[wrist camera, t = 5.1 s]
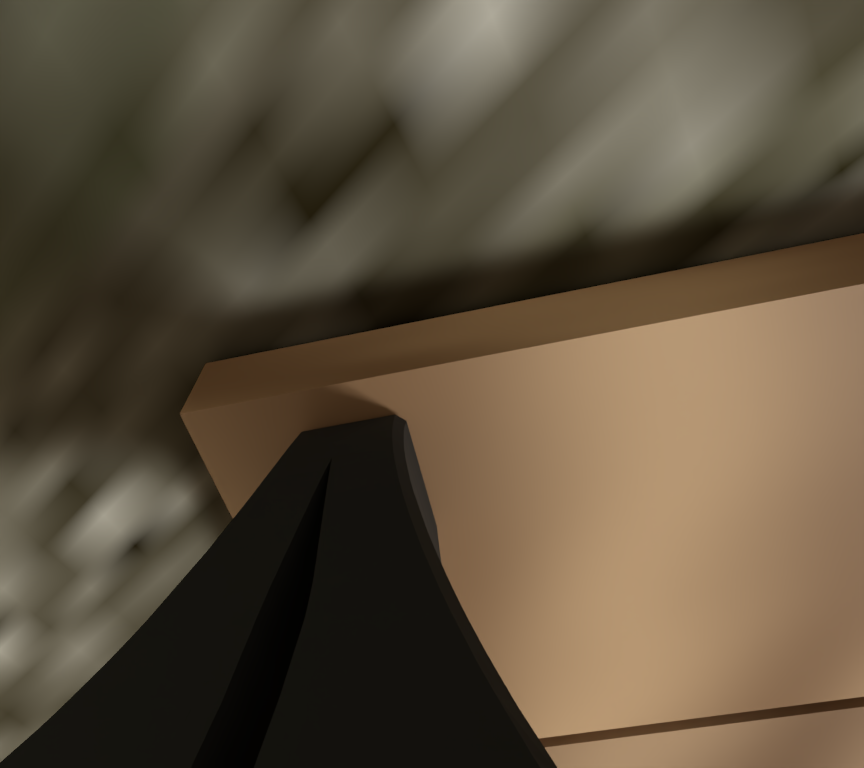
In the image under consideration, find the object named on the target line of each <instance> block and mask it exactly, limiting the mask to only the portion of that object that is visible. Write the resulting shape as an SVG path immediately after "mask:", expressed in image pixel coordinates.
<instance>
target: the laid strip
mask: <svg viewBox="0 0 864 768" xmlns="http://www.w3.org/2000/svg"><path fill="white" fill-rule="evenodd" d="M539 740H540V741H541V743H542V745H543V746H544V748H545V749H546V751H547V752H548V754H549V755H550V757H551V758H552V760H553V762H554V763H555V765H556V766H557V768H864V697H857V698H849V699H841V700H834V701H826V702H818V703H810V704H803V705H795V706H787V707H779V708H772V709H764V710H756V711H748V712H741V713H733V714H725V715H717V716H710V717H702V718H694V719H686V720H679V721H671V722H663V723H655V724H648V725H640V726H632V727H624V728H617V729H609V730H601V731H593V732H586V733H578V734H570V735H562V736H555V737H547V738H539Z"/></svg>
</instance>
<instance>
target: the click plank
mask: <svg viewBox="0 0 864 768" xmlns="http://www.w3.org/2000/svg"><path fill="white" fill-rule="evenodd" d="M395 414H396V415H397V416H399V417H401V418H402V419H404V420H406V421H407V425H408V428H409V432H410V435H411V438H412V442H413V445H414V449H415V452H416V456H417V459H418V463H419V466H420V470H421V473H422V477H423V480H424V483H425V487H426V490H427V494H428V497H429V501H430V504H431V508H432V511H433V515H434V518H435V521H436V525H437V532H438V540H439V549H440V556H441V562H442V566H443V568H444V570H445V573H446V575H447V577H448V579H449V581H450V584H451V586H452V588H453V590H454V592H455V594H456V596H457V598H458V600H459V602H460V604H461V606H462V608H463V610H464V612H465V614H466V616H467V618H468V620H469V621H470V623H471V625H472V627H473V629H474V631H475V632H476V634H477V636H478V638H479V640H480V642H481V644H482V645H483V647H484V649H485V651H486V653H487V655H488V656H489V658H490V660H491V661H492V663H493V665H494V667H495V668H496V670H497V672H498V673H499V675H500V677H501V679H502V680H503V682H504V684H505V685H506V687H507V689H508V691H509V692H510V694H511V696H512V697H513V699H514V701H515V702H516V704H517V706H518V707H519V709H520V710H521V712H522V714H523V715H524V717H525V718H526V720H527V721H528V723H529V724H530V726H531V728H532V729H533V731H534V732H535V734H536V735H537V737H538V738H547V737H555V736H562V735H570V734H578V733H586V732H593V731H601V730H609V729H617V728H624V727H632V726H640V725H648V724H655V723H663V722H671V721H679V720H686V719H694V718H702V717H710V716H717V715H725V714H733V713H741V712H748V711H756V710H764V709H772V708H779V707H787V706H795V705H803V704H810V703H818V702H826V701H834V700H841V699H849V698H857V697H864V233H862V234H857V235H852V236H847V237H842V238H837V239H831V240H826V241H821V242H816V243H811V244H806V245H801V246H796V247H791V248H786V249H781V250H776V251H771V252H766V253H761V254H756V255H751V256H746V257H741V258H735V259H730V260H725V261H720V262H715V263H710V264H705V265H700V266H695V267H690V268H685V269H680V270H675V271H670V272H665V273H660V274H655V275H650V276H644V277H639V278H634V279H629V280H624V281H619V282H614V283H609V284H604V285H599V286H594V287H589V288H584V289H579V290H574V291H569V292H564V293H559V294H554V295H548V296H543V297H538V298H533V299H528V300H523V301H518V302H513V303H508V304H503V305H498V306H493V307H488V308H483V309H478V310H473V311H468V312H463V313H457V314H452V315H447V316H442V317H437V318H432V319H427V320H422V321H417V322H412V323H407V324H402V325H397V326H392V327H387V328H382V329H377V330H372V331H367V332H361V333H356V334H351V335H346V336H341V337H336V338H331V339H326V340H321V341H316V342H311V343H306V344H301V345H296V346H291V347H286V348H281V349H276V350H271V351H265V352H260V353H255V354H250V355H245V356H240V357H235V358H230V359H225V360H220V361H215V362H210V363H206V364H205V366H204V367H203V369H202V371H201V373H200V375H199V377H198V379H197V381H196V383H195V385H194V387H193V389H192V391H191V393H190V395H189V397H188V399H187V400H186V402H185V404H184V406H183V408H182V410H181V412H180V416H181V418H182V420H183V422H184V424H185V426H186V428H187V430H188V432H189V434H190V436H191V438H192V439H193V441H194V443H195V445H196V447H197V449H198V451H199V453H200V455H201V457H202V459H203V461H204V463H205V465H206V467H207V469H208V471H209V473H210V475H211V477H212V479H213V481H214V483H215V485H216V487H217V489H218V491H219V493H220V495H221V497H222V499H223V501H224V502H225V504H226V506H227V508H228V510H229V512H230V514H231V516H232V518H234V517H235V516H236V515H237V513H238V512H239V511H240V509H241V508H242V507H243V506H244V504H245V503H246V502H247V501H248V499H249V498H250V497H251V496H252V494H253V493H254V492H255V490H256V489H257V488H258V486H259V485H260V484H261V483H262V481H263V480H264V479H265V477H266V476H267V475H268V473H269V472H270V471H271V470H272V468H273V467H274V466H275V464H276V463H277V462H278V460H279V459H280V458H281V456H282V455H283V454H284V453H285V451H286V450H287V449H288V448H289V446H290V445H291V444H292V443H293V441H294V440H295V439H296V438H297V437H298V435H299V434H300V433H301V432H303V431H308V430H314V429H319V428H325V427H330V426H335V425H341V424H346V423H352V422H357V421H363V420H368V419H373V418H379V417H384V416H390V415H395Z"/></svg>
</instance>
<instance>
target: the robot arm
mask: <svg viewBox="0 0 864 768" xmlns="http://www.w3.org/2000/svg"><path fill="white" fill-rule="evenodd" d="M0 768H557V766H556V765H555V763H554V762H553V760H552V758H551V757H550V755H549V754H548V752H547V751H546V749H545V748H544V746H543V745H542V743H541V741H540V740H539V738H538V737H537V735H536V734H535V732H534V731H533V729H532V728H531V726H530V724H529V723H528V721H527V720H526V718H525V717H524V715H523V714H522V712H521V710H520V709H519V707H518V706H517V704H516V702H515V701H514V699H513V697H512V696H511V694H510V692H509V691H508V689H507V687H506V685H505V684H504V682H503V680H502V679H501V677H500V675H499V673H498V672H497V670H496V668H495V667H494V665H493V663H492V661H491V660H490V658H489V656H488V655H487V653H486V651H485V649H484V647H483V645H482V644H481V642H480V640H479V638H478V636H477V634H476V632H475V631H474V629H473V627H472V625H471V623H470V621H469V620H468V618H467V616H466V614H465V612H464V610H463V608H462V606H461V604H460V602H459V600H458V598H457V596H456V594H455V592H454V590H453V588H452V586H451V584H450V581H449V579H448V577H447V575H446V573H445V570H444V568H443V566H442V562H441V556H440V549H439V540H438V532H437V525H436V521H435V518H434V515H433V511H432V508H431V504H430V501H429V497H428V494H427V490H426V487H425V483H424V480H423V477H422V473H421V470H420V466H419V463H418V459H417V456H416V452H415V449H414V445H413V442H412V438H411V435H410V432H409V428H408V425H407V421H406V420H404V419H402V418H401V417H399V416H397V415H396V414H395V415H390V416H384V417H379V418H373V419H368V420H363V421H357V422H352V423H346V424H341V425H335V426H330V427H325V428H319V429H314V430H308V431H303V432H301V433H300V434H299V435H298V437H297V438H296V439H295V440H294V441H293V443H292V444H291V445H290V446H289V448H288V449H287V450H286V451H285V453H284V454H283V455H282V456H281V458H280V459H279V460H278V462H277V463H276V464H275V466H274V467H273V468H272V470H271V471H270V472H269V473H268V475H267V476H266V477H265V479H264V480H263V481H262V483H261V484H260V485H259V486H258V488H257V489H256V490H255V492H254V493H253V494H252V496H251V497H250V498H249V499H248V501H247V502H246V503H245V504H244V506H243V507H242V508H241V509H240V511H239V512H238V513H237V515H236V516H235V517H234V518H233V520H232V521H231V522H230V523H229V525H228V526H227V527H226V528H225V530H224V531H223V532H222V533H221V535H220V536H219V537H218V539H217V540H216V541H215V542H214V544H213V545H212V546H211V547H210V548H209V550H208V551H207V552H206V553H205V554H204V555H203V557H202V558H201V559H200V560H199V561H198V562H197V564H196V565H195V566H194V567H193V568H192V569H191V570H190V572H189V573H188V574H187V575H186V576H185V577H184V578H183V580H182V581H181V582H180V583H179V584H178V585H177V587H176V588H175V589H174V590H173V591H172V592H171V593H170V595H169V596H168V597H167V598H166V599H165V600H164V601H163V603H162V604H161V605H160V606H159V607H158V608H157V610H156V611H155V612H154V613H153V614H152V615H151V616H150V618H149V619H148V620H147V621H146V622H145V623H144V624H143V625H142V626H141V627H140V629H139V630H138V631H137V632H136V633H135V634H134V635H133V636H132V637H131V638H130V639H129V640H128V641H127V642H126V643H125V644H124V645H123V647H122V648H121V649H120V650H119V651H118V652H117V653H116V654H115V655H114V656H113V657H112V658H111V659H110V660H109V661H108V662H107V663H106V664H105V665H104V666H103V667H102V668H101V669H100V670H99V671H98V672H97V673H96V674H95V675H94V676H93V677H92V678H91V679H90V680H89V681H88V682H87V683H86V684H85V685H84V686H83V687H82V688H81V689H80V690H79V691H78V692H77V693H76V694H75V695H74V696H73V697H72V698H71V699H70V700H68V701H67V702H66V703H65V704H64V705H63V706H62V707H61V708H60V709H59V710H58V711H57V712H56V713H55V714H54V715H53V716H52V717H51V718H50V719H49V720H48V721H47V722H45V723H44V724H43V725H42V726H41V727H40V728H39V729H38V730H37V731H36V732H34V733H33V734H32V735H31V736H30V737H29V738H28V739H27V740H25V741H24V742H23V743H22V744H21V745H20V746H19V747H17V748H16V749H15V750H14V751H13V752H12V753H11V754H10V755H8V756H7V757H6V758H5V759H4V760H3V761H2V762H0Z"/></svg>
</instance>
